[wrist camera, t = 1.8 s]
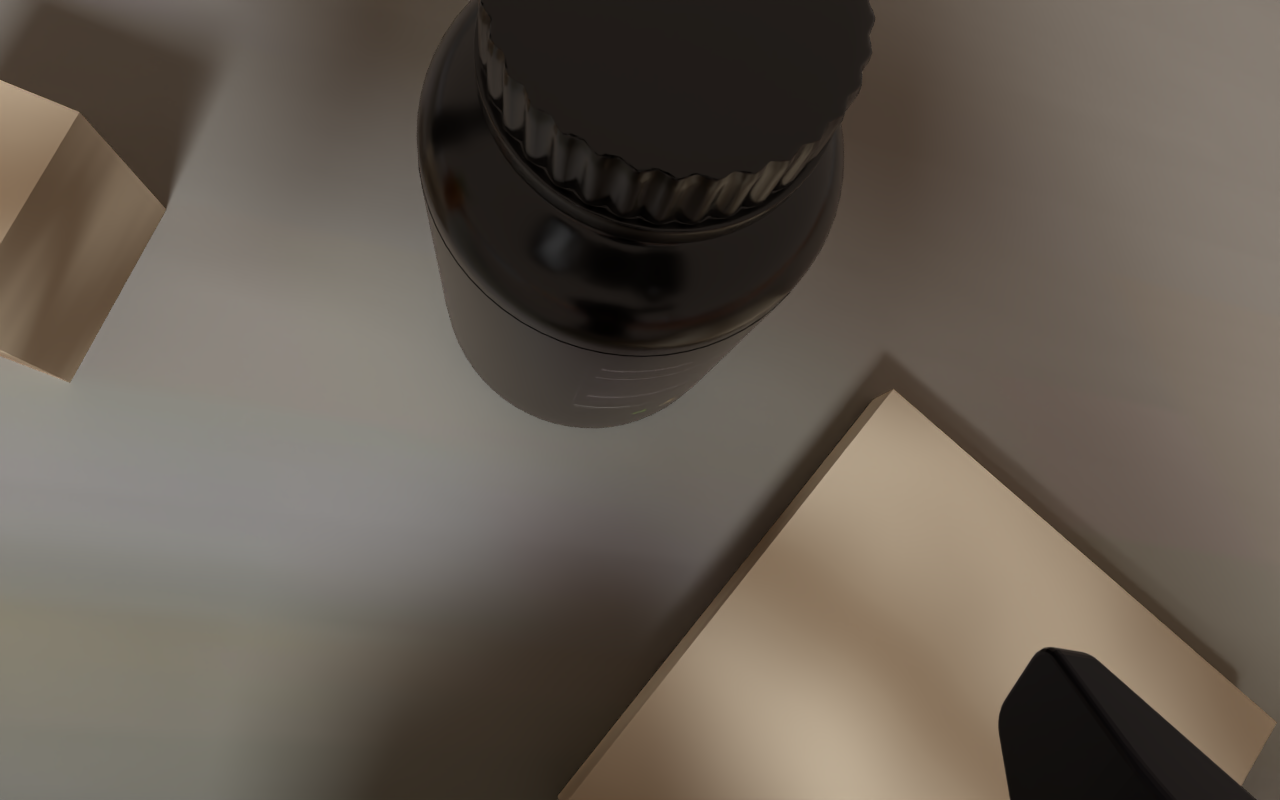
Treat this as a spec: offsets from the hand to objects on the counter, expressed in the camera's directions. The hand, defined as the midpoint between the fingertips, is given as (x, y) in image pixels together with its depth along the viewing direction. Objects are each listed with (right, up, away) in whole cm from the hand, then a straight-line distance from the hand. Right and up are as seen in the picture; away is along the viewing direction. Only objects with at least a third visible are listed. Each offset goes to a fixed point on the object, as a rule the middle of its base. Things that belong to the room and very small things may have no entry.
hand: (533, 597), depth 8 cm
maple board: (+7, -7, +13) cm, 17 cm away
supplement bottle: (0, +4, +15) cm, 15 cm away
